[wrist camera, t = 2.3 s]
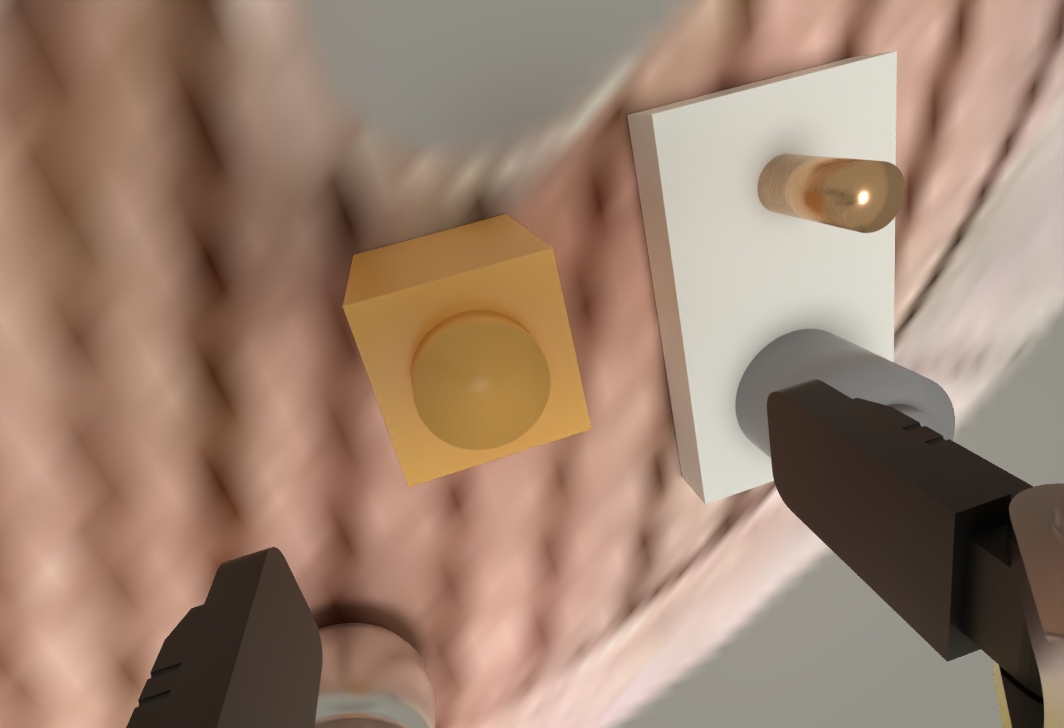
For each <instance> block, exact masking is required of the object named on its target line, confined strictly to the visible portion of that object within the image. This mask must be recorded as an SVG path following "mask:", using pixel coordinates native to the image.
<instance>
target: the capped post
mask: <svg viewBox="0 0 1064 728" xmlns="http://www.w3.org/2000/svg"><path fill="white" fill-rule="evenodd" d="M812 379H818V380H821V381H823V382H825V383H826V384H828V385H830V386H831V387H833V388H835V389H836V390H838V391H840V392H841V393H843V394H845V395H846V396H848V397H850V398H852V399H854V398H861V399H865V400H868V401H872V402H876V403H879V404H883V405H887V406H890V407H893V408H895V409H897V410H898V411H900V412H902V413H904V414H905V415H907V416H909V417H911V418H913V419H914V420H916V421H918V422H920V425H921V426H922V427H923V426H927V427H929V428H930V429H932V430H934V431H936V432H937V433H939V434H941V435H943V438H944V439H945V440H948V439H950V440H953V436H954V429H955V416H954V409H953V406H952V403H951V400H950V399H949V397H948V395H947V393H946V392H945V391H944V390H943V388H942V387H940V386H939V385H938V384H937V383H935V382H933V381H932V380H930V379H928V378H926V377H924V376H922V375H919V374H917V373H915V372H913V371H911V370H909V369H907V368H904V367H902V366H900V365H898V364H896V363H894V362H892V361H890V360H887V359H885V358H883V357H881V356H879V355H877V354H875V353H873V352H870V351H868V350H866V349H864V348H862V347H860V346H858V345H856V344H853V343H851V342H849V341H847V340H845V339H843V338H841V337H838V336H836V335H834V334H832V333H830V332H827V331H824V330H819V329H801V330H797V331H793V332H790V333H787V334H785V335H783V336H781V337H779V338H777V339H775V340H774V341H772V342H771V343H769V344H768V345H767V346H766V347H764V348H763V349H762V350H761V351H760V352H759V353H758V354H757V355H756V356H755V357H754V359H753V360H752V361H751V362H750V364H749V365H748V367H747V369H746V370H745V372H744V374H743V376H742V378H741V380H740V383H739V386H738V390H737V394H736V402H735V409H736V417H737V421H738V424H739V426H740V428H741V430H742V432H743V433H744V434H745V436H746V437H747V438H748V439H749V440H750V441H751V442H752V443H753V444H755V445H756V446H757V447H758V448H759V449H760V450H762V451H763V452H764V453H765V454H766V455H767V456H769V457H770V458H771V451H770V440H769V428H768V417H767V399H768V396H769V394H770V393H772V392H774V391H777V390H780V389H784V388H787V387H790V386H793V385H796V384H799V383H803V382H806V381H809V380H812Z"/></svg>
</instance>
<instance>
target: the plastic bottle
mask: <svg viewBox="0 0 1064 728" xmlns="http://www.w3.org/2000/svg"><path fill="white" fill-rule="evenodd" d="M318 630H319V634H320V638H321V644H322V654H323V663H322V672H321V680H320V688H319V695H318V703H317V711H316V719H315V727H314V728H435V707H436V701H435V697H434V692H433V688H432V685H431V682H430V679H429V676H428V673H427V670H426V667H425V664H424V662H423V660H422V658H421V656H420V654H419V653H418V652H417V651H416V650H415V649H414V648H413V647H412V645H411V644H409V643H408V642H406V641H405V640H404V639H402V638H401V637H399V636H398V635H396V634H395V633H393V632H392V631H390V630H388V629H385V628H383V627H380V626H376V625H372V624H367V623H343V624H335V625H331V626H327V627H323V628H321V629H318Z"/></svg>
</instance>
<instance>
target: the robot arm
mask: <svg viewBox="0 0 1064 728" xmlns="http://www.w3.org/2000/svg"><path fill="white" fill-rule="evenodd" d="M767 417H768V428H769V440H770V451H771V463H772V473H773V478H774V482H775V485H776V487H777V490H778V492H779V494H780V496H781V498H782V500H783V501H784V503H785V504H786V505H787V507H788V508H789V509H790V510H791V511H792V512H793V513H794V514H795V515H796V516H797V517H798V518H799V519H800V520H801V521H802V522H803V523H804V524H805V525H807V526H808V527H809V528H810V529H811V530H812V531H813V532H814V533H815V534H816V535H817V536H818V537H819V538H820V539H821V540H822V541H823V542H824V543H825V544H826V545H827V546H828V547H829V548H830V549H831V550H832V551H833V552H834V553H836V554H837V555H838V556H839V557H840V558H841V559H842V560H843V561H844V562H845V563H846V564H847V565H848V566H849V567H850V568H851V569H852V570H853V571H854V572H855V573H856V574H857V575H858V576H860V578H861V579H863V581H865V582H866V583H867V584H868V585H869V586H870V587H871V588H872V589H873V590H874V591H875V592H876V593H877V594H878V595H879V596H880V597H881V598H882V599H883V600H884V601H885V602H886V603H887V604H888V605H889V606H890V607H892V608H893V609H894V610H895V611H896V612H897V613H898V614H899V615H900V616H901V617H902V618H903V619H904V620H905V621H906V622H907V623H908V624H909V625H910V626H911V627H912V628H913V629H914V630H915V631H916V632H917V633H918V634H920V636H921V637H922V638H924V639H925V640H926V641H927V642H928V643H929V644H930V645H931V646H932V647H933V648H934V649H935V650H936V651H937V652H938V653H939V654H940V655H942V657H943V658H944V659H945V660H946V661H950V660H953V659H955V658H958V657H961V656H964V655H966V654H969V653H972V652H974V651H977V650H980V649H982V650H983V651H984V652H985V653H986V654H987V655H989V656H990V657H991V658H992V659H993V660H994V661H995V663H994V674H993V675H994V685H995V690H996V695H997V699H998V705H999V710H1000V715H1001V720H1002V725H1003V728H1064V484H1046V485H1040V486H1035V487H1033V486H1031V485H1030V484H1028V483H1026V482H1024V481H1022V480H1021V479H1019V478H1017V477H1015V476H1014V475H1012V474H1010V473H1008V472H1007V471H1005V470H1003V469H1001V468H999V467H998V466H996V465H994V464H992V463H991V462H989V461H987V460H985V459H983V458H982V457H980V456H978V455H976V454H975V453H973V452H971V451H969V450H968V449H966V448H964V447H962V446H960V445H959V444H957V443H955V442H953V441H952V440H950V439H948V440H945V439H944V438H943V435H941V434H939V433H937V432H936V431H934V430H932V429H930V428H929V427H927V426H923V427H922V426H921V425H920V422H918V421H916V420H914V419H913V418H911V417H909V416H907V415H905V414H904V413H902V412H900V411H898V410H897V409H895V408H893V407H890V406H887V405H883V404H879V403H876V402H872V401H868V400H865V399H861V398H854V399H852V398H850V397H848V396H846V395H845V394H843V393H841V392H840V391H838V390H836V389H835V388H833V387H831V386H830V385H828V384H826V383H825V382H823V381H821V380H818V379H812V380H809V381H806V382H803V383H799V384H796V385H793V386H790V387H787V388H784V389H780V390H777V391H774V392H772V393H770V394H769V396H768V399H767ZM322 663H323V654H322V644H321V638H320V634H319V630H318V627H317V624H316V622H315V619H314V617H313V615H312V613H311V611H310V609H309V607H308V605H307V603H306V601H305V599H304V597H303V595H302V592H301V590H300V588H299V586H298V584H297V582H296V580H295V578H294V576H293V574H292V572H291V570H290V568H289V566H288V563H287V561H286V559H285V558H284V556H283V554H282V553H281V552H280V550H279V549H277V548H275V547H272V548H268V549H265V550H262V551H259V552H256V553H252V554H249V555H246V556H243V557H240V558H237V559H233V560H230V561H227V562H224V563H222V564H221V565H220V566H219V568H218V570H217V573H216V576H215V578H214V581H213V583H212V586H211V588H210V591H209V594H208V596H207V599H206V601H205V604H204V605H201V606H198V607H195V608H191V610H190V611H189V612H188V613H187V614H186V616H185V617H184V618H183V619H182V620H181V622H180V623H179V624H178V625H177V626H176V628H175V629H174V630H173V631H172V632H171V634H170V635H169V636H168V637H167V638H166V639H165V641H164V643H163V645H162V648H161V650H160V652H159V655H158V657H157V659H156V661H155V664H154V666H153V668H152V671H151V679H148V680H147V682H146V684H145V686H144V689H143V691H142V693H141V696H140V698H139V700H138V701H139V707H136V708H135V709H134V711H133V714H132V716H131V718H130V721H129V723H128V725H127V727H126V728H314V727H315V719H316V711H317V703H318V695H319V688H320V680H321V672H322Z"/></svg>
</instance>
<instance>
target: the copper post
mask: <svg viewBox="0 0 1064 728" xmlns="http://www.w3.org/2000/svg"><path fill="white" fill-rule="evenodd" d="M757 188H758V196H759V199H760V202H761V203H762V205H763V206H764V207H765V208H766V209H767V210H769V211H771V212H775V213H779V214H783V215H787V216H792V217H796V218H800V219H805V220H809V221H813V222H818V223H822V224H826V225H831V226H835V227H839V228H844V229H848V230H852V231H857V232H861V233H872V232H876V231H878V230H880V229H882V228H884V227H885V226H887V225H888V224H889V223H890V222H891V221H892V220H893V219H894V218H895V216H896V215H897V213H898V212H899V210H900V208H901V206H902V203H903V200H904V195H905V182H904V178H903V175H902V173H901V171H900V170H899V169H898V168H897V167H896V166H895V165H894V164H892V163H890V162H886V161H875V160H862V159H849V158H837V157H824V156H811V155H799V154H782V155H779V156H777V157H775V158H773V159H772V160H771V161H770V162H769V163H768V164H767V165H766V166H765V167H764V169H763V170H762V172H761V174H760V177H759V180H758V187H757Z"/></svg>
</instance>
